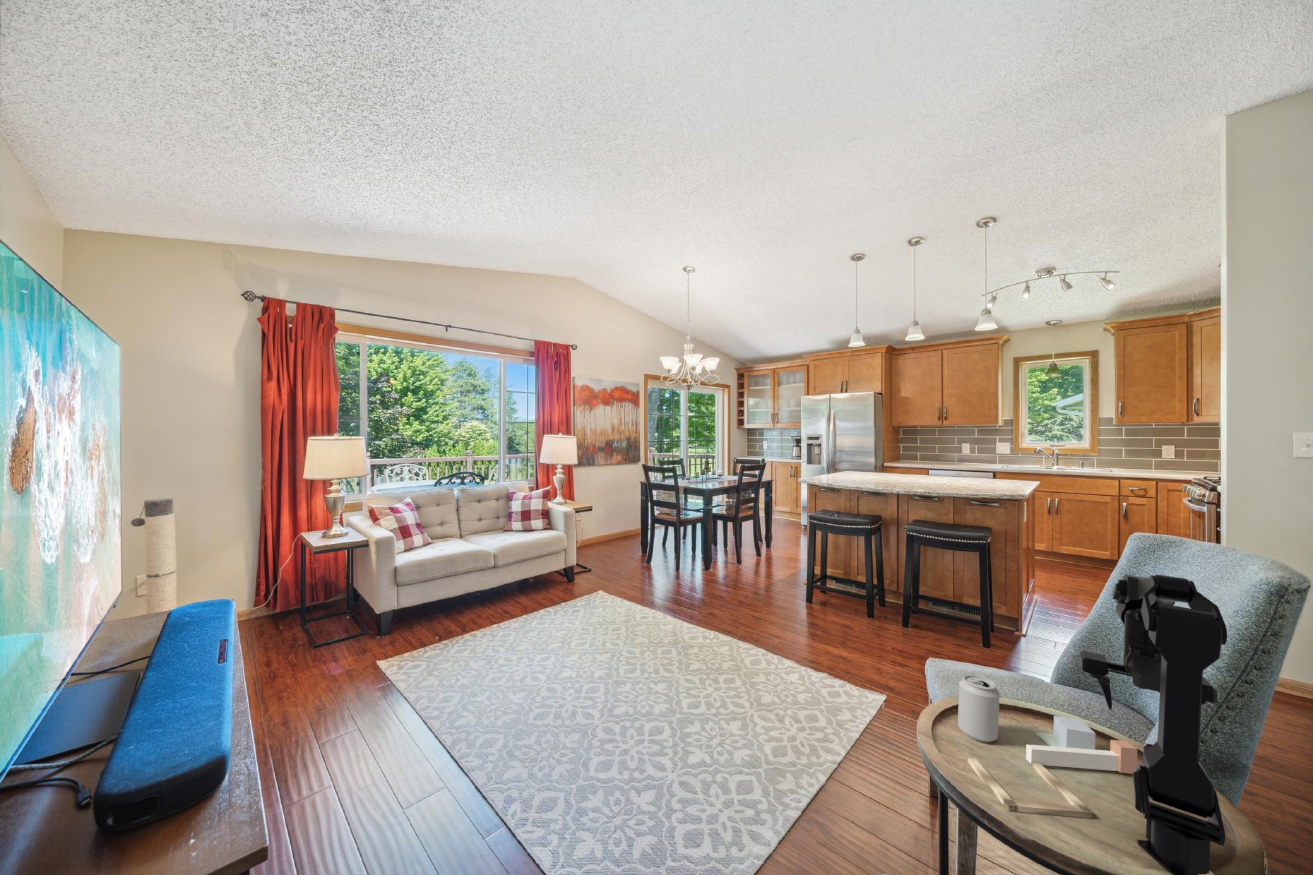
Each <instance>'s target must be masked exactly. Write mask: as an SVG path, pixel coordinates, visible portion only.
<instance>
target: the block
mask: <svg viewBox="0 0 1313 875" xmlns="http://www.w3.org/2000/svg"><path fill="white" fill-rule="evenodd" d="M1052 734H1053V738H1054V740H1055V741H1056V742H1057V743H1058V744H1059V745H1060V746H1061V747H1066V748H1079V749H1092V750H1095V749H1096V733H1095V731H1094V730H1092V729H1091V728H1090V727H1089V726H1088V725H1087V724H1086V723H1085V722H1084V721H1083V720H1082V719H1078V718H1077V719H1076V718H1071V717H1066V716H1059V715H1053V733H1052Z"/></svg>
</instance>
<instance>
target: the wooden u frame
mask: <svg viewBox="0 0 1313 875" xmlns="http://www.w3.org/2000/svg"><path fill="white" fill-rule="evenodd" d="M967 764H968V765H969V766H970V767H971V769H972V770H973V771H974V773H976V774H977V776H978V777H979V778H980V780H982V781H983V783H984V784H985V785H986V786H987V787H988V788H989V790H990V791H991V792H992V793H993V794H994V796H996V798H997V799H998V800H999V801H1000V803H1001V804H1002V805H1003V806H1004V807H1005V808H1006V809H1007V811H1008V810H1009V811H1008V812H1014V813H1015V812H1016V813H1025V814H1039V815H1048V816H1050V815H1052V816H1062V817H1074V818H1083V819H1085V818H1086V819H1094V812H1093V811H1092V810H1091V809H1090V808H1089V807H1088V806H1087V805H1086V804H1084V802H1082V800H1080V799H1079V798H1078V796H1076V795H1075V794H1074V793H1073V792H1072V791H1071V790H1069V789H1068V788H1067V787H1066V786H1065V785H1064V784H1063V783H1062V782H1061V781H1060V780H1059V779H1058V778H1056V776H1055V775H1053V774H1052V773H1051V771H1049V770H1048V769H1047V768H1046V767H1045V766H1044V765H1041V764H1037V763H1033V764H1031V765H1032V769H1033V770H1034V772H1036V773H1037V774H1038V775H1039V776H1040V777H1041V778H1042V779H1043V780H1044V781H1045V782H1047V784H1049V785H1050V787H1052V789H1054V790H1055V791H1056V792H1057V793H1058V794H1059V795H1060V796H1061V797H1062V798H1063V799H1064V800H1065V801H1066V802H1067V803H1068V804H1066V803H1065V804H1064V803H1053V802H1043V801H1030V800H1020V799H1019V800H1018V799H1012V798H1011V797H1010V796H1009V794H1008V793H1007V792H1006V791H1005V789H1003V788H1002V786H1001V785H1000V784H999V783H998V782H997V781H996V779H995V778H993V777H992V775H991V774H990V773H989V772H988V770H986V768H984V766H983V765H982V764H981V763H980V761H979V760H977V759H976V758H973V757H971V758H970V757H967Z"/></svg>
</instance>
